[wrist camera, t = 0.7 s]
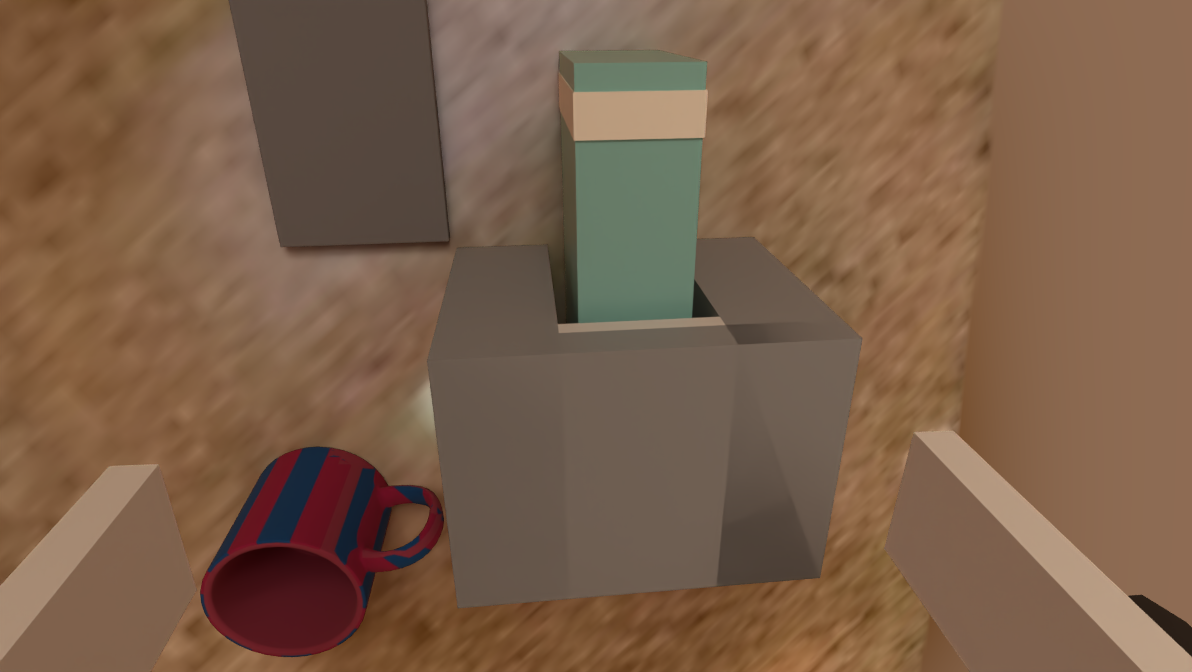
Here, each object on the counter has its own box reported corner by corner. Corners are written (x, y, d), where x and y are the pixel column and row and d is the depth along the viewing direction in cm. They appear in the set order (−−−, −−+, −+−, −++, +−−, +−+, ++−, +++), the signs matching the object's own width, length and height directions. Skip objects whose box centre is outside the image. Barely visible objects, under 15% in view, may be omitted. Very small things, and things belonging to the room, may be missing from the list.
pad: (210, -117, 24) (203, -120, 23) (415, -114, 24) (412, -117, 24) (284, 242, 29) (280, 247, 29) (449, 237, 30) (448, 241, 29)
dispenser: (456, 247, 30) (427, 360, 20) (753, 237, 31) (862, 338, 22) (474, 438, 34) (457, 608, 25) (736, 422, 36) (820, 577, 26)
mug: (235, 458, 34) (173, 558, 27) (437, 422, 34) (419, 512, 28) (282, 560, 36) (235, 670, 30) (467, 526, 37) (457, 628, 31)
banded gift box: (557, 50, 27) (572, 63, 20) (658, 49, 28) (709, 61, 20) (564, 325, 32) (578, 414, 25) (650, 320, 33) (688, 408, 25)
